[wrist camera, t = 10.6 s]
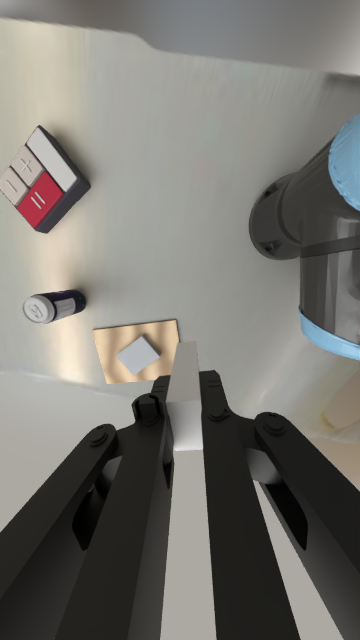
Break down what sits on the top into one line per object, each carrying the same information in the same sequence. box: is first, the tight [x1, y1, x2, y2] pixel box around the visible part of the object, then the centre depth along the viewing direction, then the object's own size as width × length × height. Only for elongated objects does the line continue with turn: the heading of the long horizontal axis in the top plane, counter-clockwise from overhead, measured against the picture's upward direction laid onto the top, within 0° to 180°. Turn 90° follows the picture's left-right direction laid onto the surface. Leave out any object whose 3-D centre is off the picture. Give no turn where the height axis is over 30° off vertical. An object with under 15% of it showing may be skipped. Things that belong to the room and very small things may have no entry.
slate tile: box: [116, 334, 161, 375], centre depth 44 cm, size 2×7×9 cm
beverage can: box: [22, 290, 86, 324], centre depth 37 cm, size 6×6×12 cm
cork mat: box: [92, 320, 179, 384], centre depth 45 cm, size 22×16×1 cm
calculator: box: [0, 125, 91, 234], centre depth 35 cm, size 11×4×15 cm
